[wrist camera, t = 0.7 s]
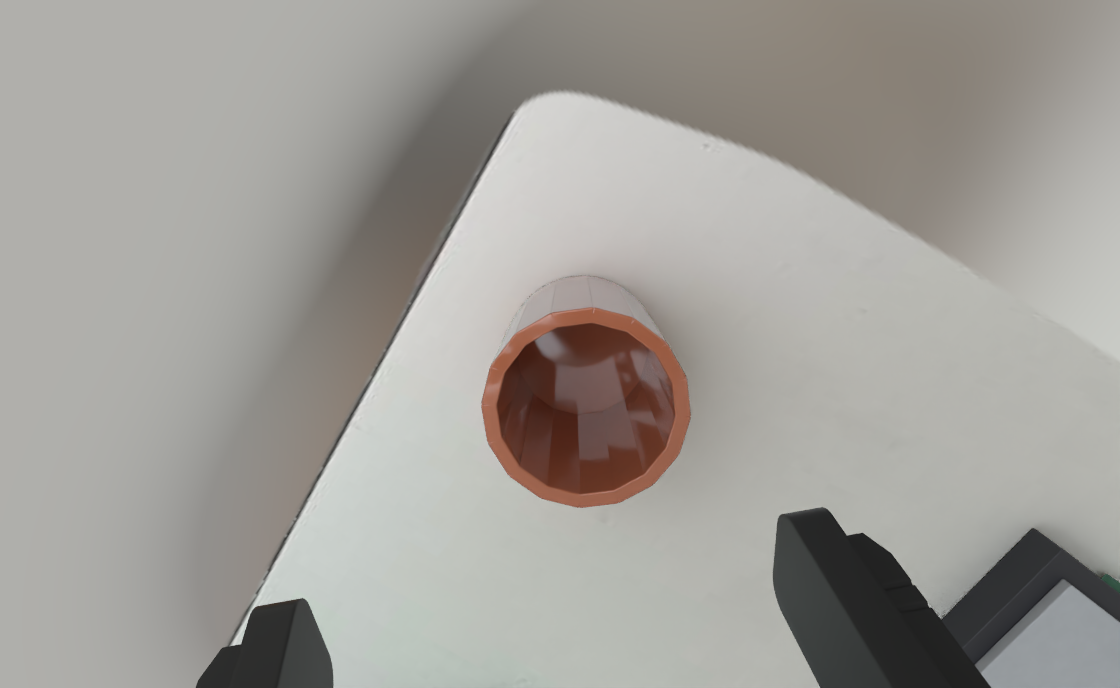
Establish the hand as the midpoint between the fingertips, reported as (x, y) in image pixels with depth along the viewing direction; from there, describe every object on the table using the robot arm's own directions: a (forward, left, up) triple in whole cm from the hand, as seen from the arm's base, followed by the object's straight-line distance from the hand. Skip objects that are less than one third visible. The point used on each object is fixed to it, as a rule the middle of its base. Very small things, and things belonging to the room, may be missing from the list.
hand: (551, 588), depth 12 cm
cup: (0, +1, -19) cm, 20 cm away
